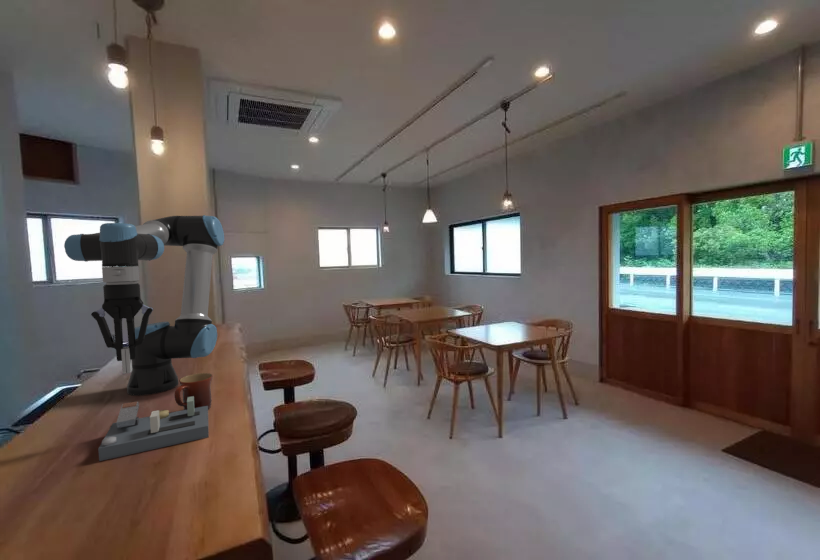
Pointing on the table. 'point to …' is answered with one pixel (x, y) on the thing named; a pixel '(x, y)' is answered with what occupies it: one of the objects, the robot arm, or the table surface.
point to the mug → (195, 390)
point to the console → (170, 432)
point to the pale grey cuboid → (154, 421)
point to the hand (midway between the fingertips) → (127, 372)
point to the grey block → (190, 406)
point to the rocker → (127, 414)
